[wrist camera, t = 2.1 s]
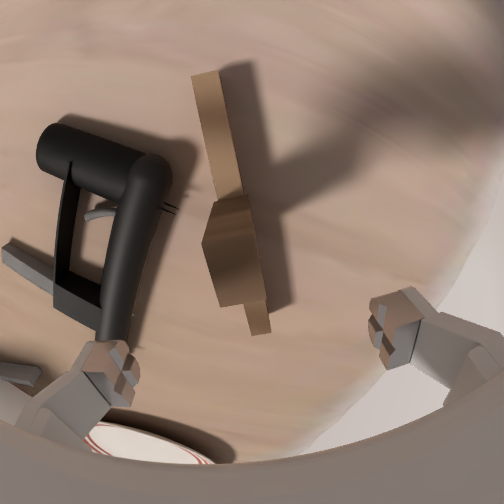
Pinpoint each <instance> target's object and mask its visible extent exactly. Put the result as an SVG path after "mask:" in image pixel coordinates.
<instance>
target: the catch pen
mask: <svg viewBox="0 0 504 504" xmlns="http://www.w3.org/2000/svg"><path fill="white" fill-rule="evenodd" d="M41 372H42V371H41V370H40V368H39V367H38V366H29V365H21V364H13V363H6V362H0V379H2V380H5V381H10V382H14V383H18V384H23V385H28V386H33V387H34V385H35V383H36V381H37V379H38V378H39V376H40V374H41Z"/></svg>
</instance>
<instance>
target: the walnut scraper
mask: <svg viewBox="0 0 504 504" xmlns="http://www.w3.org/2000/svg"><path fill="white" fill-rule="evenodd" d="M191 79H192V84H193V89H194V94H195V99H196V104H197V108H198V113H199V118H200V122H201V127H202V132H203V136H204V141H205V145H206V150H207V154H208V159H209V163H210V168H211V172H212V177H213V181H214V185H215V190H216V194H217V198H218V201H216V202H214V203H213V207H212V210H211V213H210V216H209V220H208V223H207V226H206V230H205V233H204V237H203V240H202V243H201V244H202V248H203V251H204V255H205V258H206V262H207V265H208V269H209V272H210V275H211V279H212V282H213V285H214V288H215V292H216V295H217V298H218V301H219V305H220V307H226V306H232V305H238V304H244V308H245V312H246V316H247V320H248V324H249V327H250V331H251V335H252V336H255V335H260V334H266V333H271V327H270V321H269V315H268V310H267V305H266V299H267V296H266V290H265V284H264V278H263V273H262V267H261V261H260V255H259V249H258V243H257V238H256V233H255V228H254V223H253V218H252V213H251V208H250V202H249V197H248V195H244V190H243V185H242V180H241V176H240V171H239V166H238V161H237V156H236V151H235V146H234V141H233V137H232V132H231V127H230V122H229V117H228V112H227V108H226V103H225V98H224V93H223V88H222V83H221V79H220V75H219V72H218V70H216V71H211V72H207V73H203V74H199V75H195V76H191Z"/></svg>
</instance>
